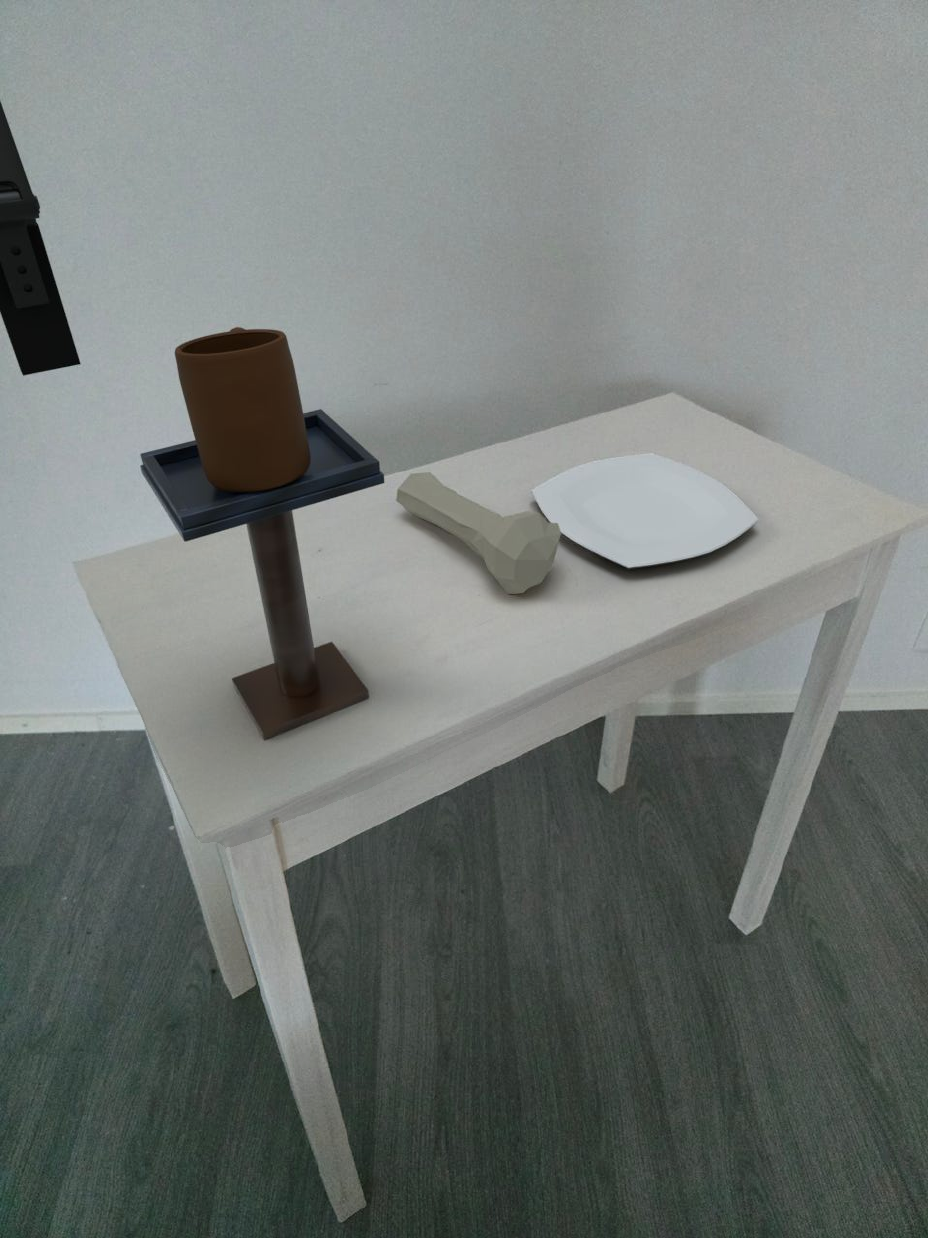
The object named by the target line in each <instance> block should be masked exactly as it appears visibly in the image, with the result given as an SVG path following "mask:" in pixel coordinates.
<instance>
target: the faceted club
mask: <svg viewBox="0 0 928 1238" xmlns="http://www.w3.org/2000/svg"><path fill="white" fill-rule="evenodd" d="M396 502H397V503H398V504H399V505H401V506H402V508H403V509H405V510H407V511H408V512H410V513H411V514H412V515H414V516H415V517H417V518H419V519H422V520H425V521H426V522H429V523H430V524H431V523H432V524H434V525H436V526H437V527H439V528H440V529H442V530H444V531H446V532H448V533H449V534H451V535H452V536H454V537H456V538H458V539H459V540H461V541H462V542H463V543H464V544H466V545H467V546H468V547H469V548H470V549H471V550H473V551H474V552H475V553H476V554H477V555H479V556H480V557H481V558H482V559H483V560H484V561H485V565H486V568H487V569H488V571H489V572H490V573H491V575H492V576H493V577H494V578H495V579H496V580H497V581H498V584H499V586H500V587H501V588H502V589H503V590H504V591H505V593H506V594H507V595H514V594H515V595H517V594H523V593H525V592H526V591H527V590H528V589H530V588H532V587H535V586H537V585H540V584H541V583H542V582H543V580H544V579H545V577H546V576H547V575H548V573H549V572H550V570H551V569H552V567H553V566H554V562H555V558H556V554H557V551H558V547H559V543H560V540H561V537H562V536H561V535H562V534H561V531H560V528H559V525H558V523H550V522H549V521H548V520H547V519H546V518H545V517H544V516H543V515H542V514H541V513H540V512H535V511H523V512H518V513H514V514H510V515H505V516H502V515H500V514H499V513H496V512H494V511H492V510H491V509H489V508H486V507H485V506H483V505H481V504H479V503H477V502H475V501H473V500H471V499H469V498H467V497H465V496H463V495H461V494H459V493H458V492H457V491H456V490H454V489H451V488H450V487H448V486H445V485H444V484H443V483H442V482H441V481H440V480H439V479H438V477H436V476H435V475H434V474H433V473H432V472H431V471H427V472H425V471H424V472H416V473H415V472H414V473H410V474H409V475H408V476H407V477H406V479H405V480H404V481H403V482H402V483H401V484H400V486H399V487H398V488H397V490H396Z"/></svg>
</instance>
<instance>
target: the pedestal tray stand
mask: <svg viewBox="0 0 928 1238" xmlns="http://www.w3.org/2000/svg"><path fill="white" fill-rule="evenodd" d="M303 415H304V421H305V427H306V433H307V438H308V443H309V449H310V456H311V462H310V466H309V468H308V470H307V471H306V472H305V473H304V474H303V475H302V476H301V477H299V478H298V479H296V480H294V481H292V482H290V483H288V484H285V485H282V486H279V487H275V488H272V489H267V490H262V491H255V492H228V491H223V490H220V489H218V488H215V487H214V486H212V485H211V484H210V482H209V481H208V480H207V478H206V475H205V472H204V469H203V466H202V462H201V459H200V455H199V451H198V447H197V444H196V440H195V439H194V440H190V441H186V442H182V443H178V444H174V445H170V446H169V445H168V446H166V447H161V448H157V449H154V450H150V451H147V452H142V453H140V459H141V463H142V464H141V465H140V471H141V474H142V476H143V477H144V479H145V481H146V482H147V484H148V485H149V487H150V489H151V490H152V492H153V494H154V495H155V497H156V498H157V500H158V501H159V503H160V505H161V506H162V508H163V509H164V512H165V513H166V515H167V517H168V518H169V519H170V521H171V522H172V524H173V526H174V527H175V529H176V530H177V532H178V533H179V535H180V537H181V538H182V540H183V541H184V542H186V543H187V542H190V541H193V540H196V539H199V538H203V537H207V536H209V535H213V534H217V533H220V532H223V531H227V530H230V529H235V528H237V527H240V526H241V527H242V526H243V525H246V529H247V534H248V539H249V544H250V545H249V546H250V549H251V554H252V559H253V565H254V570H255V574H256V579H257V584H258V588H259V595H260V597H261V603H262V609H263V614H264V619H265V624H266V628H267V633H268V634H267V635H268V639H269V645H270V648H271V653H272V658H273V662H272V663H270V664H267V665H265V666H262V667H258V668H256V669H254V670H251V671H248V672H246V673H243V674H240V675H238V676H234V677H232V678H231V681H232V685H233V688H234V690H235V692H236V693H237V695H238V696H239V699H240V700H241V702H242V704H243V705H244V707H245V709H246V710H247V712H248V714H249V716H250V718H251V720H252V721H253V723H254V725H255V726H256V728H257V730H258V732H259V733H260V736H261V737H262V739H263V741H266V740H269V739H271V738H273V737H276V736H279V735H281V734H283V733H286V732H288V731H291V730H294V729H296V728H298V727H301V726H303V725H306V724H308V723H310V722H313V721H316V720H318V719H321V718H323V717H325V716H328V715H331V714H332V713H336V712H338V711H340V710H342V709H345V708H347V707H351V706H352V705H354V704H357V703H360V702H362V701H365V700H367V699H369V698H370V693H369V689H368V688H367V687H366V685H365V684H364V683H363V681H362V680H361V678H360V677H359V676H358V674H357V672H355V670H354V669H353V668H352V666H351V665H350V664H349V662H348V661H347V659H345V657H344V655H343V654H342V653H341V652H340V651H339V649H338V648H337V646H336V645H335V644H334V642H333V641H330V642H327V643H324V644H321V645H318V646H316V647H315V645H314V640H313V634H312V633H313V632H312V627H311V620H310V614H309V613H310V612H309V608H308V601H307V595H306V588H305V583H304V576H303V571H302V564H301V558H300V557H301V556H300V553H299V551H300V550H299V545H298V540H297V533H296V532H297V531H296V526H295V519H294V514H293V511H295V510H298V509H301V508H304V507H309V506H312V505H315V504H318V503H323V502H325V501H329V500H331V499H332V500H333V499H335V498H338V497H339V498H340V497H342V496H346V495H349V494H352V493H356V492H359V491H362V490H366V489H369V488H373V487H376V486H379V485H383V484H385V474H384V473H383V472H382V471H381V467H380V461H379V459H378V458H376V457H375V456H374V455H373V454H372V453H370V451H369V450H367V449H366V448H365V447H364V446H363V445H362V444H361V443H359V442H358V441H357V440H356V439H355V438H354V437H353V436H352V435H350V434H349V433H348V432H347V431H346V430H345V429H344V428H343V427H342V426H341V425H340V424H339V423H338V422H336V421H335V420H334V419H333V418H332V417H331V416H329V415H328V413H326V412H325V411H324V409H321V408H319V409H316V410H312V411H308V412H303Z"/></svg>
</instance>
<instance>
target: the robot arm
mask: <svg viewBox="0 0 928 1238" xmlns="http://www.w3.org/2000/svg"><path fill="white" fill-rule="evenodd" d="M40 209H41V205H40V202H39V199H38V196H37V195H35V194H34V192H33V189H32V187H31V185H30V182H29V178H28V176H27V172H26V170H25V167H24V164H23V161H22V159H21V157H20V152H19V150H18V147H17V144H16V141H15V138H14V136H13V133H12V130H11V127H10V124H9V122H8V119H7V116H6V113H5V110H4V108H3V104H2V101H1V100H0V316H1V318H2V322H3V325H4V327H5V330H6V333H7V336H8V338H9V341H10V344H11V347H12V350H13V352H14V355H15V358H16V361H17V364H18V367H19V370H20V372H21V375H22V376H23V377H24V376H29V375H35V374H38V373H39V374H40V373H44V372H49V371H53V370H58V369H63V368H70V367H74V366H79V365H81V364H82V363H81V360H80V357H79V353H78V350H77V348H76V344H75V343H76V342H75V340H74V336H73V334H72V330H71V327H70V324H69V320H68V317H67V314H66V310H65V308H64V304H63V300H62V298H61V294H60V292H59V288H58V285H57V282H56V281H57V280H56V278H55V275H54V272H53V268H52V265H51V261H50V259H49V258H50V257H49V255H48V252H47V248H46V246H45V242H44V238H43V235H42V232H41V229H40V225H39V223H38V222H37V219H40V214H41V211H40Z"/></svg>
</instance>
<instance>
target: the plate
mask: <svg viewBox="0 0 928 1238" xmlns="http://www.w3.org/2000/svg"><path fill="white" fill-rule="evenodd" d="M530 493H531V494H532V496H533V498H534V500H535V502H536V504H537V505H538V507H539V509H540V510H541V512H542V514H543V515H544V516H545V517H546V518H545V519H546V520H547V521H548V523H558V525H559V528H560V531H561V535H563V536H564V537H565V538H567V539H568V540H569V541H571V542H573V543H575V544H576V545H578V546H579V547H582V548H583V549H585V550H587V551H588V552H590V553H593V554H594V555H597V556H599V557H601V558H602V559H605V560H607V561H610V562H612V563H614V564H616V565H619V566H620V567H623V568H625V569H628V570H631V569H640V568H647V567H655V566H660V565H666V564H672V563H678V562H683V561H686V560H692V559H695V558H698V557H702V556H706V555H709V554H711V553H713V552H715V551H717V550H719V549H722V548H724V547H726V546H727V545H729V544H731V542H733V541H735V540H736V539H738V538H739V537H740V536H742V535H743V534H745V533H746V532H747V531H749V530H750V529H751V528H752V527H754V526H755V524H757V523H758V522H759V521H760V519H759V517H757V515H755V513H754V512H753V511H752V510H751V509H750V508H749V507H748V506H747V504H746V503H744V501H743V500H741V499H740V497H739V496H738V495H737V494H735V493H734V492H733V491H732V490H730V489H729V488H728V487H727V486H725V484H723V483H721V482H720V481H718V480H717V479H716V478H714V477H712V476H710V475H708V474H706V473H705V472H702V471H701V470H698V469H696V468H693V467H691V466H689V465H686V464H684V463H681V462H678V461H676V460H673V459H671V458H667V457H666V456H662V455H659V454H656V453H654V452H649V453H648V452H647V453H640V454H629V455H622V456H616V457H610V458H604V459H598V460H594V461H590V462H585V463H582V464H580V465H577V466H574V467H571V468H569V469H567V470H565V471H563V472H561V473H558V474H557V475H554V476H553V477H551V478H549V479H548V480H545V481H544V482H542V483H541V484H539V485H537V486H535V487H533V488H532V489H530Z"/></svg>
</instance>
